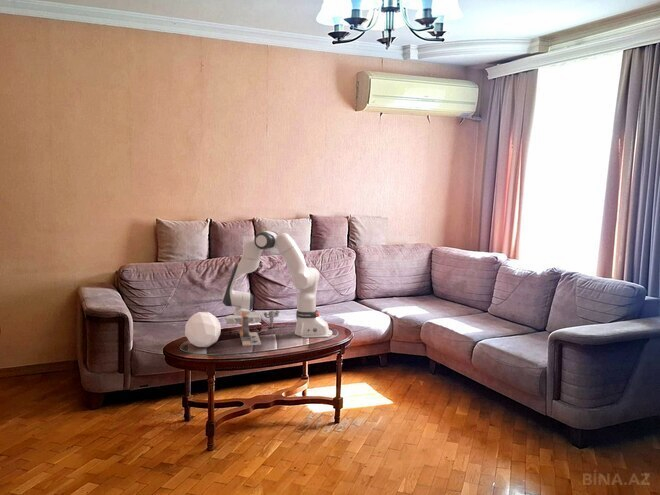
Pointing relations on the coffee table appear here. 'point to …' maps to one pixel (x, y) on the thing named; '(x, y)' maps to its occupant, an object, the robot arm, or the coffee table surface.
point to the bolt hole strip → (254, 339)
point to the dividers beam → (245, 332)
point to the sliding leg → (242, 322)
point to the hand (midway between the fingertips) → (244, 322)
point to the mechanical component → (271, 316)
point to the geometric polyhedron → (202, 329)
